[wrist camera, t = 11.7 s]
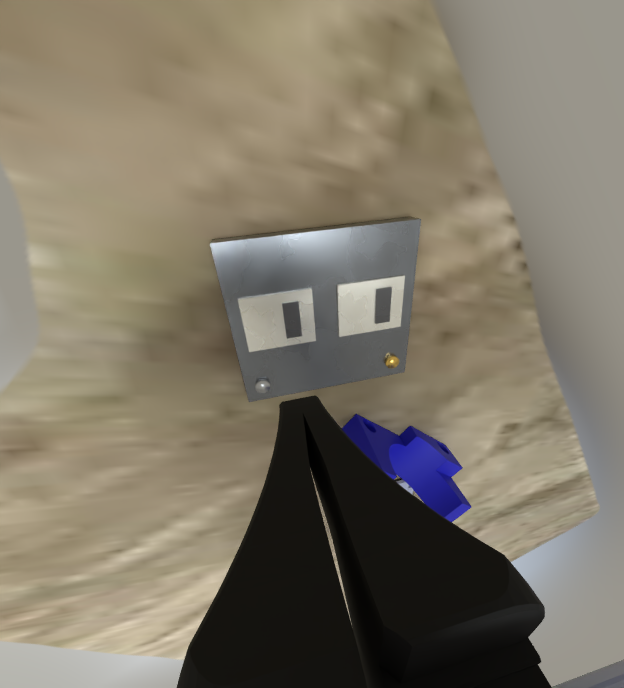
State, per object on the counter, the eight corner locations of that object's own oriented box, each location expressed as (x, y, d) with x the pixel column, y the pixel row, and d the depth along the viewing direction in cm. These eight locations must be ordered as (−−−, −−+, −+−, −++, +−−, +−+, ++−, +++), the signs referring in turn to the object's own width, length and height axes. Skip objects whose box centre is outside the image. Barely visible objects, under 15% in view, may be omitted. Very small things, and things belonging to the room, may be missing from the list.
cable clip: (444, 443, 30) (484, 497, 25) (414, 470, 32) (446, 526, 26) (366, 400, 25) (398, 457, 20) (333, 434, 26) (355, 496, 21)
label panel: (397, 363, 23) (406, 374, 22) (248, 391, 22) (248, 405, 20) (410, 216, 18) (424, 219, 16) (212, 239, 16) (209, 244, 15)
